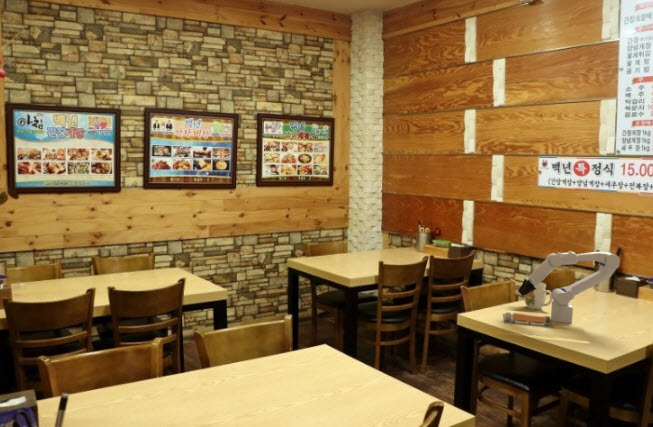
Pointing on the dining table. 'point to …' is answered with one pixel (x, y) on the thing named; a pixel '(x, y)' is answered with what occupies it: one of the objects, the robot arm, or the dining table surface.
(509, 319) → the board
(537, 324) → the label
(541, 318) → the swing bar
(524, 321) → the label
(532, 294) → the white floral mug
